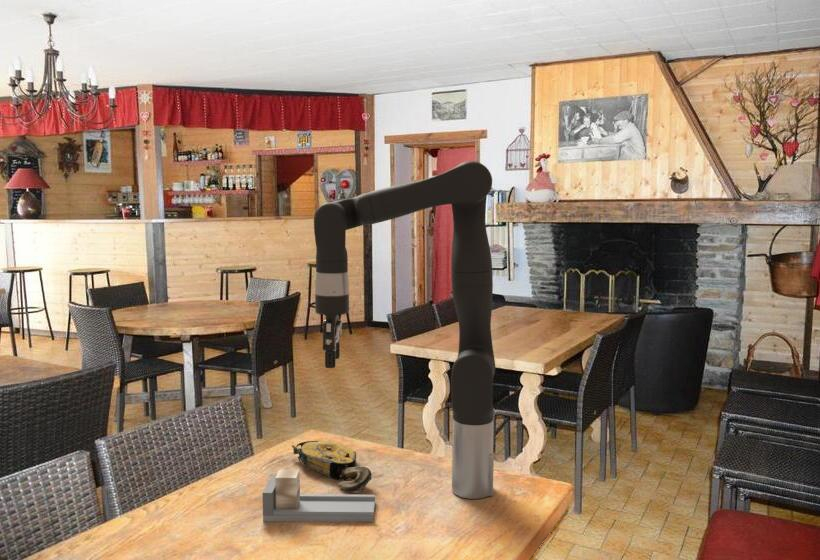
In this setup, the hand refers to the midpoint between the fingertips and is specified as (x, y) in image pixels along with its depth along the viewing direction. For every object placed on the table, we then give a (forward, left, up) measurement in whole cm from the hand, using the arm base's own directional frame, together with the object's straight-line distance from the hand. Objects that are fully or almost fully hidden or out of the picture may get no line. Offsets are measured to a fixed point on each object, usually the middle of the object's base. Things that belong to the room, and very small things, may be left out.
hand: (332, 362), depth 154 cm
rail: (+2, +11, -30) cm, 32 cm away
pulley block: (+1, -10, -31) cm, 32 cm away
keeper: (+9, +11, -29) cm, 32 cm away
